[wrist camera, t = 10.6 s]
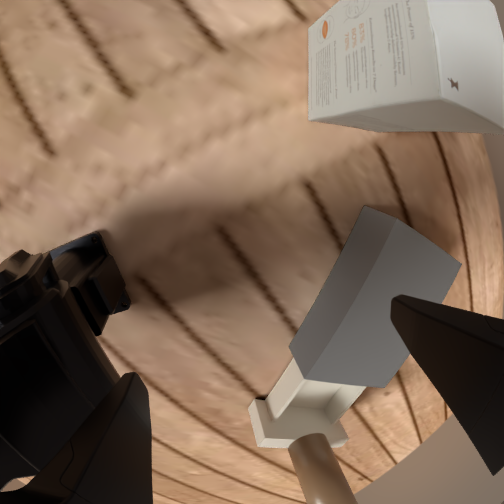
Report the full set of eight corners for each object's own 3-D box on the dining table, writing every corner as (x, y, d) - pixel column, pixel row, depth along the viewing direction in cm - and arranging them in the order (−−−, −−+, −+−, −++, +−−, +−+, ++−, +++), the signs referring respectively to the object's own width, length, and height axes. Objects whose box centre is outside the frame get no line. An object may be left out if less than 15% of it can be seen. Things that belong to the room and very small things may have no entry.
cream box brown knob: (318, 293, 24) (417, 418, 11) (395, 319, 27) (483, 406, 14) (243, 414, 27) (272, 530, 14) (320, 421, 31) (363, 512, 17)
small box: (377, 133, 20) (516, 140, 8) (305, 122, 19) (439, 100, 7) (376, 45, 18) (496, 3, 6) (306, 26, 16) (409, -58, 4)
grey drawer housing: (364, 205, 22) (397, 218, 18) (431, 247, 25) (461, 264, 21) (288, 346, 25) (304, 379, 21) (364, 361, 28) (384, 388, 24)
